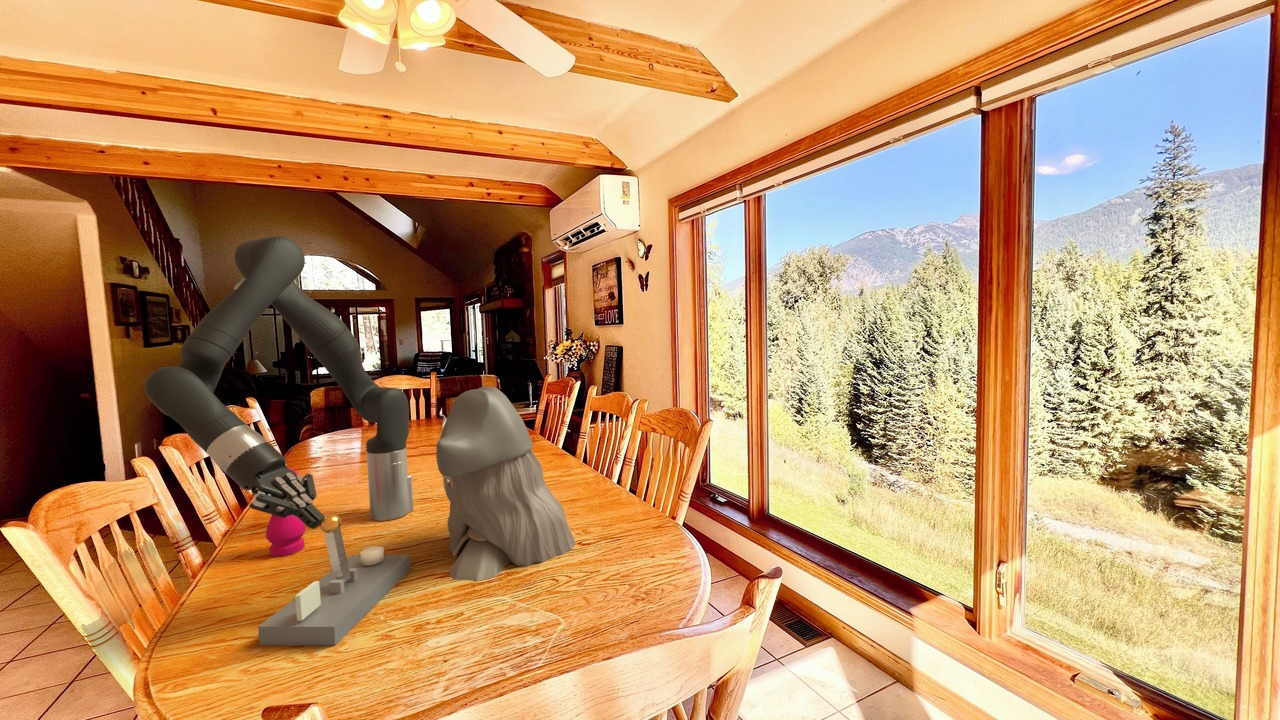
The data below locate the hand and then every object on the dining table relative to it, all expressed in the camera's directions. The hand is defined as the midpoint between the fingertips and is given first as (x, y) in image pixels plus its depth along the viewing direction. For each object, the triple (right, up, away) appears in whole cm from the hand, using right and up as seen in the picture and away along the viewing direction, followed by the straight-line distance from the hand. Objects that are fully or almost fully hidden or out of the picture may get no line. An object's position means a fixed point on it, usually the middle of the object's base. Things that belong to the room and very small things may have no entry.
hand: (319, 524), depth 89 cm
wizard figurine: (+25, -12, +24) cm, 37 cm away
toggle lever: (+4, -11, +1) cm, 12 cm away
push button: (+4, -10, +10) cm, 15 cm away
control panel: (+4, -14, +1) cm, 15 cm away
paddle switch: (+4, -12, -8) cm, 15 cm away
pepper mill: (-21, -13, +23) cm, 34 cm away
